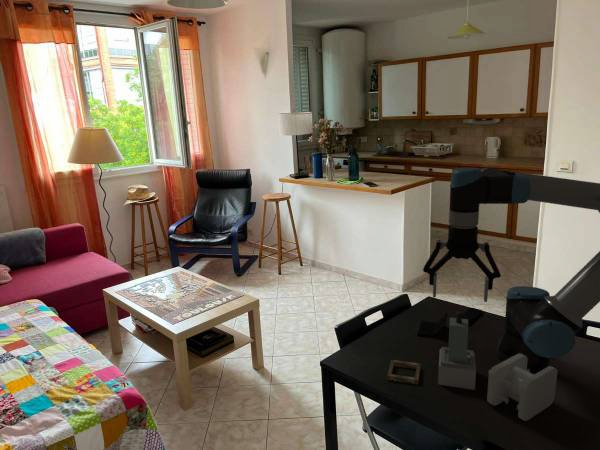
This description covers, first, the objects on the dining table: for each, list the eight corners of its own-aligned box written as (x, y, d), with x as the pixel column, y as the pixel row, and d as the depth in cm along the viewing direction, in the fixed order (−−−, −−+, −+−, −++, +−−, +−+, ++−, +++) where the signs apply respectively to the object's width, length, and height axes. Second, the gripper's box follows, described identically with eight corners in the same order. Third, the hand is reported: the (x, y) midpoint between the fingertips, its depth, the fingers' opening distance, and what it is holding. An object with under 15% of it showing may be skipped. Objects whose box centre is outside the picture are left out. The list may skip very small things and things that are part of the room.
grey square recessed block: (473, 370, 136) (474, 350, 134) (474, 389, 126) (476, 368, 125) (439, 366, 139) (439, 345, 137) (438, 384, 130) (438, 363, 128)
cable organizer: (521, 427, 111) (525, 386, 108) (484, 405, 120) (487, 367, 117) (554, 405, 119) (559, 366, 116) (517, 386, 128) (520, 349, 125)
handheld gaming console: (416, 318, 167) (433, 301, 163) (431, 329, 168) (449, 312, 163) (415, 337, 157) (434, 319, 153) (432, 348, 157) (451, 331, 153)
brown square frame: (420, 367, 138) (420, 363, 138) (418, 384, 130) (418, 380, 130) (391, 363, 141) (391, 359, 141) (387, 380, 133) (387, 375, 133)
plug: (465, 356, 133) (468, 309, 129) (466, 365, 128) (468, 317, 124) (448, 354, 134) (450, 308, 131) (447, 362, 130) (450, 315, 126)
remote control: (470, 311, 177) (454, 323, 166) (471, 307, 176) (455, 319, 166) (483, 314, 173) (467, 327, 163) (483, 310, 173) (468, 323, 162)
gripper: (511, 223, 121) (506, 296, 126) (417, 220, 129) (415, 288, 134) (515, 230, 114) (509, 307, 119) (414, 226, 122) (413, 298, 127)
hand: (459, 297), depth 126 cm, fingers open, 13 cm apart
